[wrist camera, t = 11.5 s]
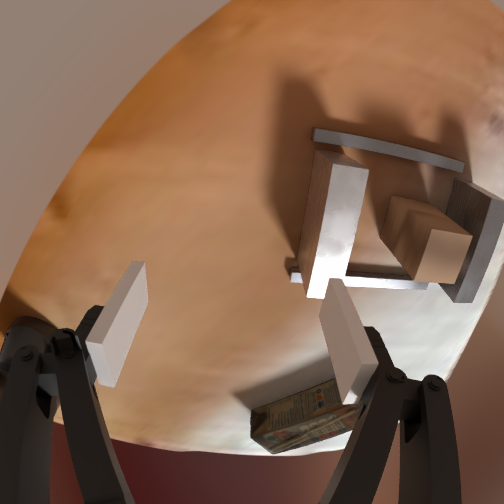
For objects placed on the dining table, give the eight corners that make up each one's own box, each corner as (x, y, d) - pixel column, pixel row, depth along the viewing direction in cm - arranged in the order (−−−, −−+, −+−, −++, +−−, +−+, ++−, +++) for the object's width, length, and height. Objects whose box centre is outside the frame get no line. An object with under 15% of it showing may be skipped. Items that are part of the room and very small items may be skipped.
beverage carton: (247, 408, 47) (247, 441, 41) (360, 363, 43) (371, 397, 37) (271, 428, 50) (272, 459, 44) (373, 388, 46) (384, 420, 40)
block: (416, 242, 34) (454, 283, 26) (379, 237, 33) (413, 281, 25) (428, 202, 31) (472, 236, 23) (391, 195, 31) (431, 228, 23)
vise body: (289, 276, 35) (296, 315, 29) (312, 127, 28) (330, 135, 22) (439, 285, 36) (464, 317, 30) (476, 166, 29) (514, 184, 23)
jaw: (296, 259, 34) (306, 297, 28) (314, 149, 29) (333, 163, 23) (323, 262, 35) (337, 299, 28) (344, 153, 29) (369, 169, 23)
